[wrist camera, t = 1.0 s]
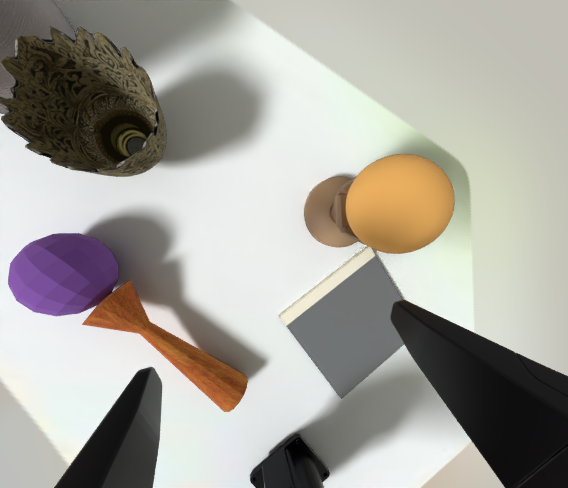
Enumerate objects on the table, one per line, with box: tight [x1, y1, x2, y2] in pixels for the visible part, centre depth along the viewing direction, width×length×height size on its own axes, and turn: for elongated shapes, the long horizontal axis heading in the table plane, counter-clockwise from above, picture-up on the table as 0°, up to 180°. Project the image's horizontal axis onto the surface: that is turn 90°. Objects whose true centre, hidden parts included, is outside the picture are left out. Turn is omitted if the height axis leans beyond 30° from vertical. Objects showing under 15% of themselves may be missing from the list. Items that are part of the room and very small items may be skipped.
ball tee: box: [304, 177, 364, 247], centre depth 22 cm, size 7×7×6 cm
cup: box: [0, 26, 167, 177], centre depth 16 cm, size 8×7×8 cm
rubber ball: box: [346, 154, 454, 254], centre depth 16 cm, size 6×6×6 cm
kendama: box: [8, 233, 248, 412], centre depth 20 cm, size 6×6×20 cm
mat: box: [279, 246, 404, 399], centre depth 26 cm, size 12×12×1 cm
